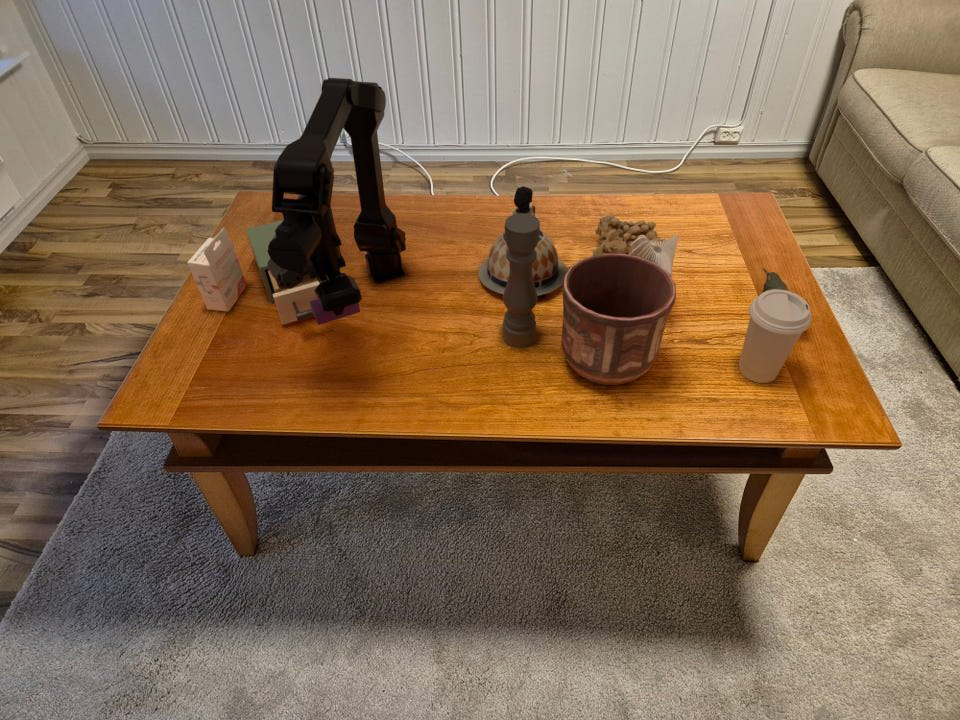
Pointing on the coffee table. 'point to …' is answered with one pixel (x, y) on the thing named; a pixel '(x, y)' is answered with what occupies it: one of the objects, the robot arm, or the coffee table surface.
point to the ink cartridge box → (218, 272)
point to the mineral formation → (622, 235)
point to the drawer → (294, 299)
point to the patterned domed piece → (544, 268)
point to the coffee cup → (772, 333)
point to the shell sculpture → (656, 251)
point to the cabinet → (263, 250)
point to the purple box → (331, 312)
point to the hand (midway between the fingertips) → (335, 307)
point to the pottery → (614, 316)
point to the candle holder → (520, 280)
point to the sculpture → (774, 282)
